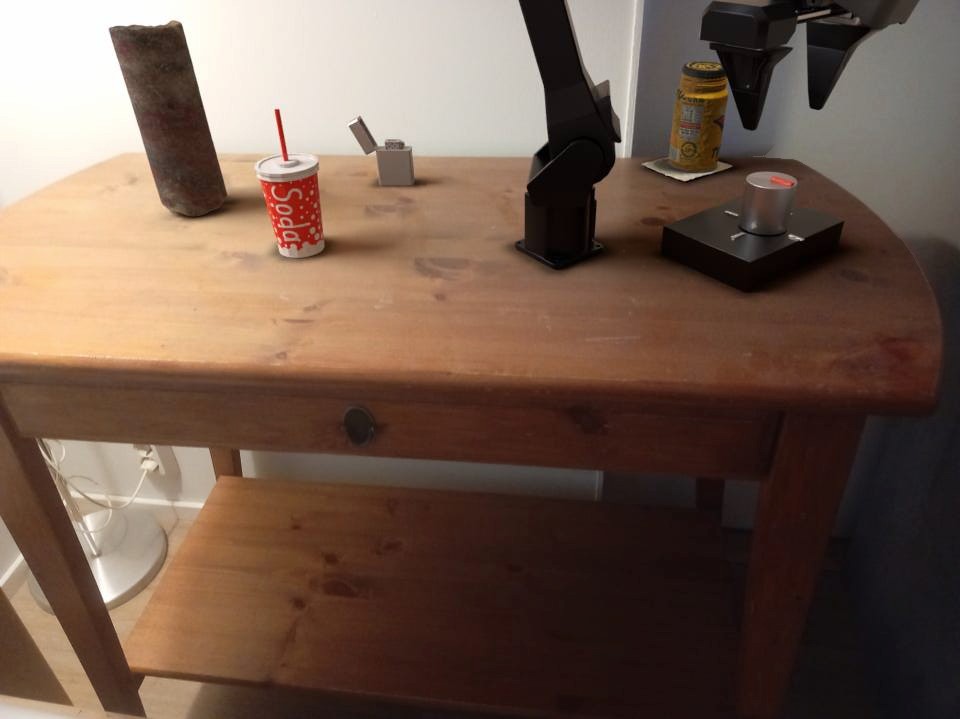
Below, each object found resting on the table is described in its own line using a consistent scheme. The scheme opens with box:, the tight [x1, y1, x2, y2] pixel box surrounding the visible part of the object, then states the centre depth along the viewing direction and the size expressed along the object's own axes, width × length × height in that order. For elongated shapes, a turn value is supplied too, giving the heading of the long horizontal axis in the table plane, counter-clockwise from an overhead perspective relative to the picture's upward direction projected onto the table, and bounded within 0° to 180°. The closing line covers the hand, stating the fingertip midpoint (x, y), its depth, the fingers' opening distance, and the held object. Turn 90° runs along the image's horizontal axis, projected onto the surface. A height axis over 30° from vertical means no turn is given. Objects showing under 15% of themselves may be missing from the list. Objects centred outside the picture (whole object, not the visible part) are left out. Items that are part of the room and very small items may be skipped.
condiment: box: [641, 60, 733, 182], centre depth 89 cm, size 7×8×12 cm
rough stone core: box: [108, 19, 228, 217], centre depth 81 cm, size 8×7×20 cm
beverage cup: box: [254, 108, 326, 259], centre depth 72 cm, size 6×6×14 cm
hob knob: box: [739, 171, 798, 235], centre depth 68 cm, size 4×4×5 cm
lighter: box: [347, 115, 416, 186], centre depth 89 cm, size 7×2×8 cm, turn 85°
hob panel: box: [659, 195, 845, 293], centre depth 71 cm, size 14×10×3 cm
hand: (783, 119), depth 64 cm, fingers open, 9 cm apart
